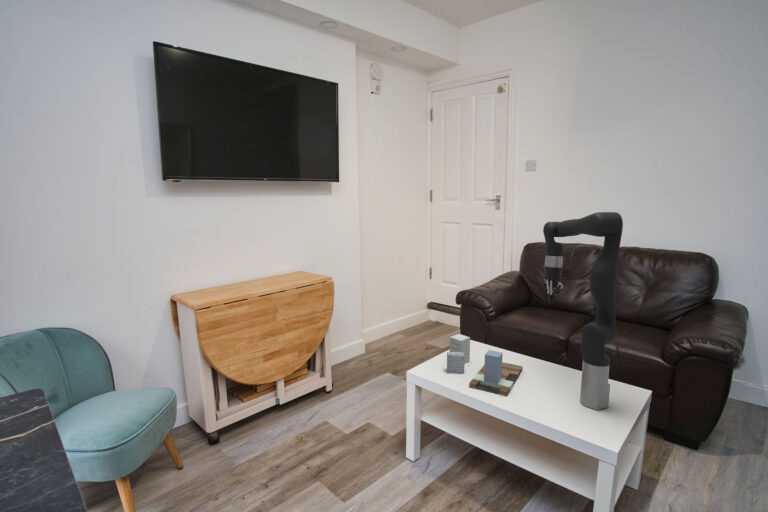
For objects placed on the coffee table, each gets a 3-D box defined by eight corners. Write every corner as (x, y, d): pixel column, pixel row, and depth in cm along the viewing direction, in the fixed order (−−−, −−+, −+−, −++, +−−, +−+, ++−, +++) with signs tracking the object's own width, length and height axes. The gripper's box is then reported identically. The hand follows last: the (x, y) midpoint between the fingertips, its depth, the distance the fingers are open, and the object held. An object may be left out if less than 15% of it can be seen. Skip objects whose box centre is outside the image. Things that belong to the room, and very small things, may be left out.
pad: (477, 377, 182) (477, 373, 181) (513, 385, 174) (513, 381, 173) (472, 382, 176) (473, 378, 176) (509, 391, 169) (510, 387, 168)
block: (487, 375, 179) (488, 350, 177) (501, 378, 176) (502, 352, 174) (483, 380, 174) (484, 354, 172) (497, 384, 171) (499, 357, 169)
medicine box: (463, 369, 190) (463, 352, 189) (464, 373, 186) (464, 355, 185) (446, 369, 191) (446, 351, 190) (447, 372, 187) (447, 355, 186)
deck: (488, 363, 198) (488, 359, 198) (522, 370, 190) (522, 366, 190) (469, 387, 172) (469, 382, 172) (507, 396, 164) (507, 391, 164)
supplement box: (458, 357, 206) (459, 333, 204) (469, 361, 200) (470, 337, 198) (448, 360, 201) (449, 336, 199) (460, 365, 195) (461, 340, 194)
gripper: (536, 263, 189) (534, 299, 191) (557, 268, 176) (555, 306, 179) (549, 262, 191) (547, 298, 194) (571, 267, 179) (568, 305, 181)
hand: (551, 302), depth 186 cm, fingers closed
